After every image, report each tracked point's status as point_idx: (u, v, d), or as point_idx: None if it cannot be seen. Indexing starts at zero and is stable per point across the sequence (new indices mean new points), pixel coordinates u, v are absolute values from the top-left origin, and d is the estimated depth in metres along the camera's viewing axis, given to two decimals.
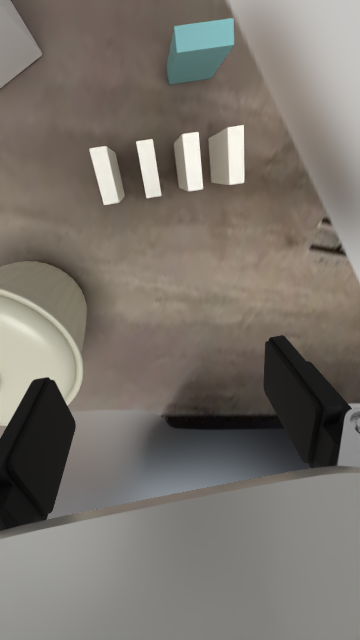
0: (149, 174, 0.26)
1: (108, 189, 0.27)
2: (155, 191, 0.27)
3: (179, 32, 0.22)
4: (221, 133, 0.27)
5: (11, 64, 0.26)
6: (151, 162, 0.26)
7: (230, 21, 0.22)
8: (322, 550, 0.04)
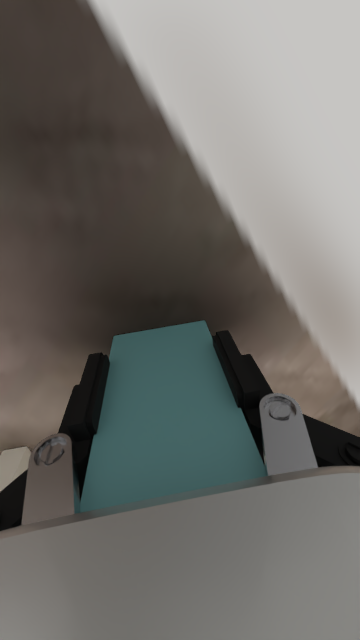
0: None
1: None
2: None
3: None
4: None
5: None
6: None
7: None
8: (322, 550, 0.04)
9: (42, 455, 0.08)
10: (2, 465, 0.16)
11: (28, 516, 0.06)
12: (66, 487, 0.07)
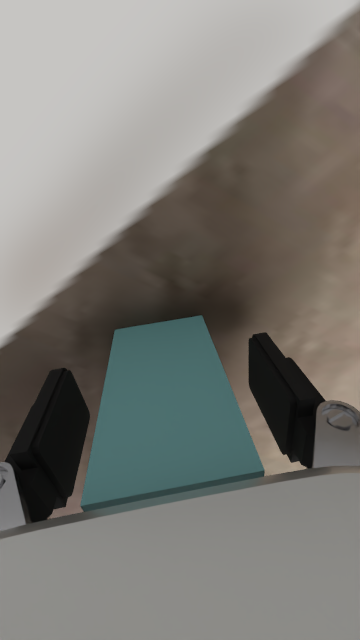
0: None
1: None
2: None
3: None
4: None
5: None
6: None
7: (254, 475, 0.07)
8: (322, 550, 0.04)
9: None
10: None
11: None
12: (14, 513, 0.06)
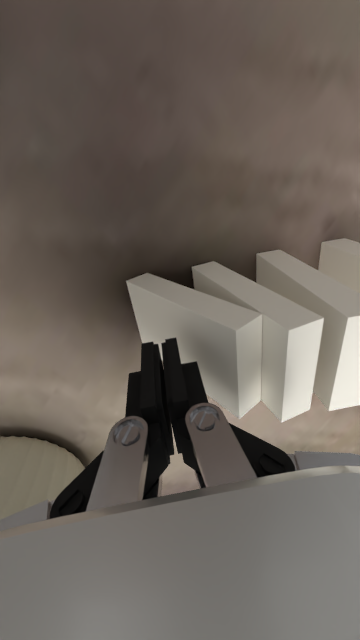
0: (297, 383, 0.11)
1: (250, 388, 0.12)
2: (301, 406, 0.12)
3: None
4: None
5: None
6: (308, 361, 0.11)
7: None
8: (322, 550, 0.04)
9: (121, 433, 0.08)
10: (140, 281, 0.16)
11: (97, 490, 0.07)
12: (133, 477, 0.07)
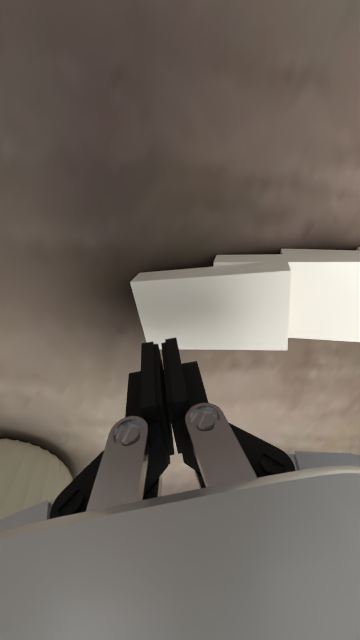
0: None
1: None
2: None
3: None
4: None
5: None
6: None
7: None
8: (322, 550, 0.04)
9: (121, 433, 0.08)
10: (149, 277, 0.16)
11: (97, 490, 0.07)
12: (133, 477, 0.07)
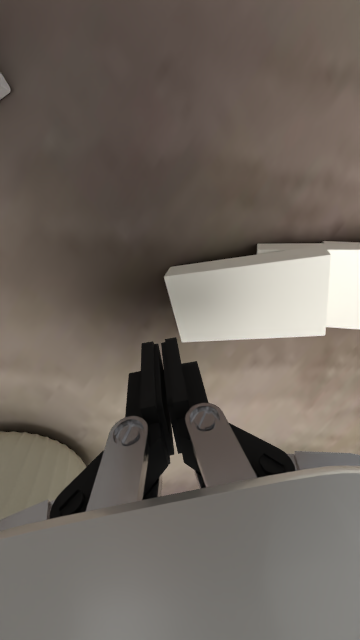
0: None
1: None
2: None
3: None
4: None
5: None
6: None
7: None
8: (322, 550, 0.04)
9: (121, 433, 0.08)
10: (182, 271, 0.16)
11: (97, 490, 0.07)
12: (133, 477, 0.07)
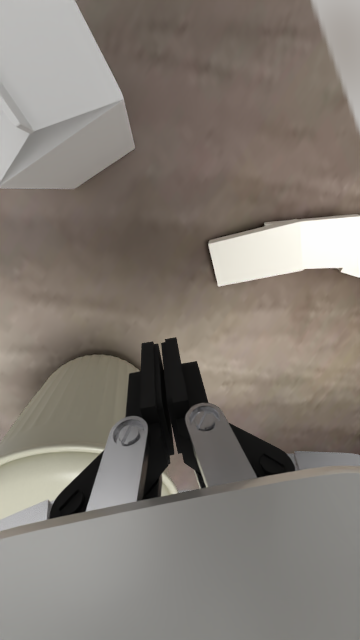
0: None
1: None
2: None
3: None
4: None
5: (105, 164, 0.22)
6: None
7: None
8: (322, 550, 0.04)
9: (121, 433, 0.08)
10: (218, 240, 0.28)
11: (97, 490, 0.07)
12: (133, 477, 0.07)
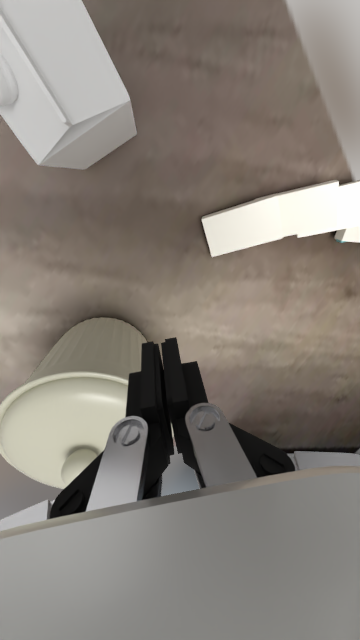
0: None
1: None
2: None
3: None
4: None
5: (112, 148, 0.27)
6: None
7: None
8: (322, 550, 0.04)
9: (121, 433, 0.08)
10: (210, 215, 0.32)
11: (97, 490, 0.07)
12: (134, 477, 0.07)
